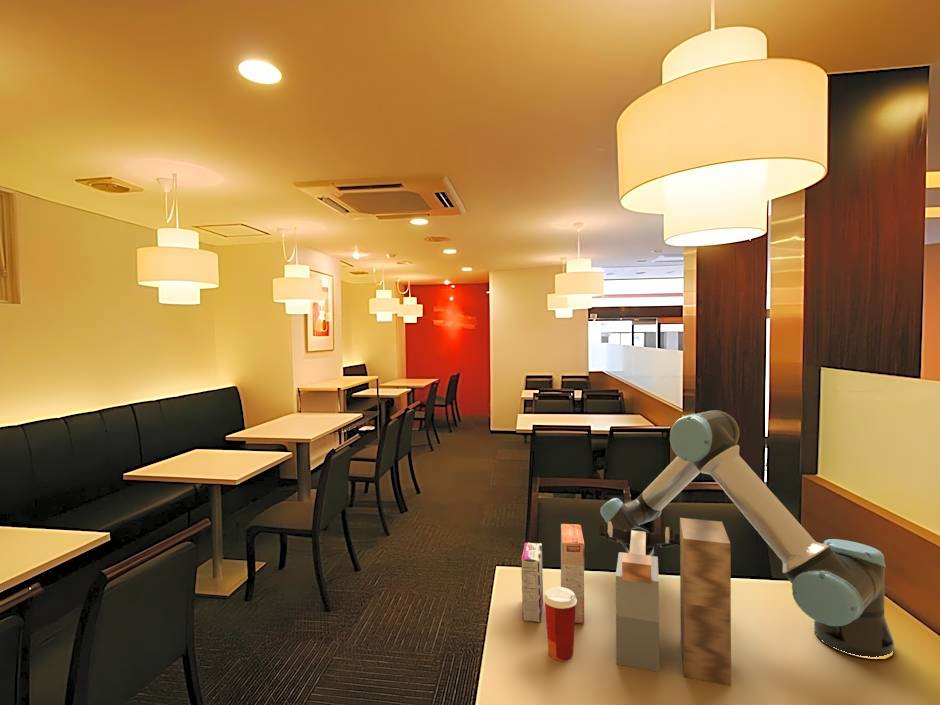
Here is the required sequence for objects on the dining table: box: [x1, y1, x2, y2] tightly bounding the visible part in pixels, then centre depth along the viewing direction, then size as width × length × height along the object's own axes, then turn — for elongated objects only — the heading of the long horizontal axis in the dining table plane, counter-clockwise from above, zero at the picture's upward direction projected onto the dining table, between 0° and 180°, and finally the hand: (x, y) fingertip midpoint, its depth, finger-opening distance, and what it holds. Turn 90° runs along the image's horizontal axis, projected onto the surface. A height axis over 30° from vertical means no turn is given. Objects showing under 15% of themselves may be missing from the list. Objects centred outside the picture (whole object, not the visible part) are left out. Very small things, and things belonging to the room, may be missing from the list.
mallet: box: [622, 530, 651, 584], centre depth 120 cm, size 6×22×4 cm, turn 161°
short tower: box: [615, 551, 660, 673], centre depth 118 cm, size 9×13×20 cm
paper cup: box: [543, 586, 577, 662], centre depth 117 cm, size 8×8×14 cm
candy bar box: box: [520, 542, 544, 623], centre depth 136 cm, size 11×5×16 cm, turn 168°
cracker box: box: [560, 523, 585, 624], centre depth 136 cm, size 14×6×21 cm, turn 171°
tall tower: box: [679, 517, 732, 686], centre depth 113 cm, size 9×13×30 cm
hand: (638, 529), depth 125 cm, fingers open, 13 cm apart
